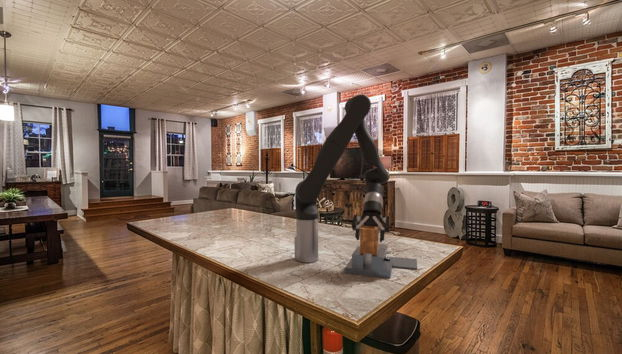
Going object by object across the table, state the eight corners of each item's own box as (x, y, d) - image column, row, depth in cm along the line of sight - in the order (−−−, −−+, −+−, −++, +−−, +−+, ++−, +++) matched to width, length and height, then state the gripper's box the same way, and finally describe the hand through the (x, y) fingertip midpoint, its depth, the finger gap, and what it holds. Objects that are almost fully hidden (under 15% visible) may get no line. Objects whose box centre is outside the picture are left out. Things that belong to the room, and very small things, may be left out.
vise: (345, 273, 106) (344, 234, 105) (351, 263, 117) (351, 228, 117) (390, 278, 100) (390, 237, 100) (392, 267, 112) (392, 231, 111)
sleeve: (360, 253, 107) (360, 228, 106) (362, 248, 112) (362, 225, 112) (376, 254, 105) (376, 229, 105) (378, 250, 110) (378, 226, 110)
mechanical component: (369, 254, 130) (392, 255, 128) (369, 244, 130) (392, 245, 128) (369, 248, 140) (390, 249, 138) (369, 239, 140) (390, 240, 138)
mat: (384, 266, 113) (384, 265, 113) (386, 257, 124) (386, 256, 124) (417, 269, 109) (417, 268, 109) (416, 260, 120) (416, 258, 120)
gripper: (354, 199, 118) (348, 233, 107) (390, 200, 113) (388, 235, 103) (356, 210, 123) (351, 243, 112) (391, 211, 118) (389, 246, 108)
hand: (369, 239), depth 108 cm, fingers open, 8 cm apart
